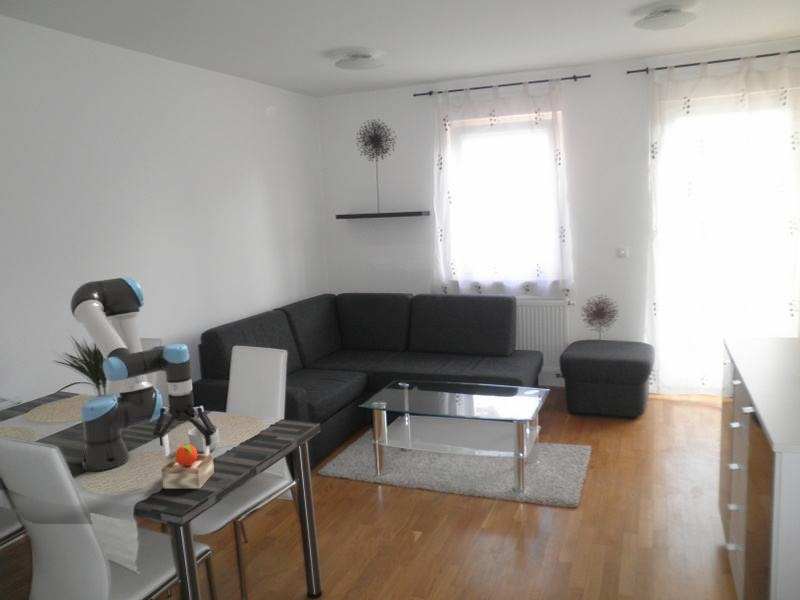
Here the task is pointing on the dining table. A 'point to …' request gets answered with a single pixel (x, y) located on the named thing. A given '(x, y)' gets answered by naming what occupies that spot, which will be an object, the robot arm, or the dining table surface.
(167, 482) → the wooden box
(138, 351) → the robot arm
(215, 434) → the teacup
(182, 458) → the tomato
